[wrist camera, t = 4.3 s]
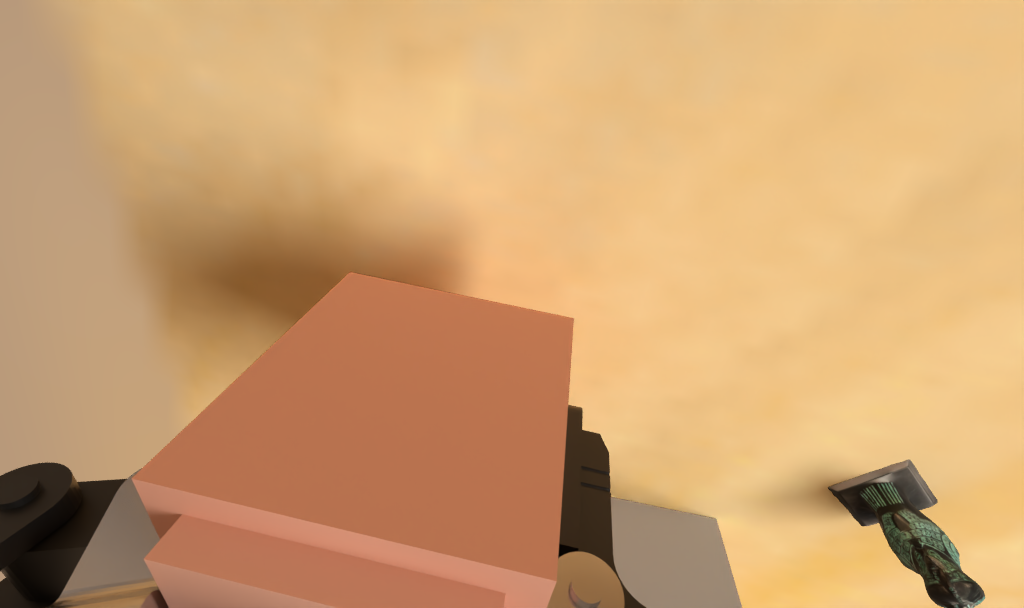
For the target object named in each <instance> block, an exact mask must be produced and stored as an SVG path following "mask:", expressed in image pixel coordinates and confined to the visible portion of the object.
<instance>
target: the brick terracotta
mask: <svg viewBox="0 0 1024 608" xmlns="http://www.w3.org/2000/svg"><path fill="white" fill-rule="evenodd" d="M573 322H574V318H569V317H565V316H560V315H555V314H550V313H545V312H541V311H536V310H531V309H526V308H521V307H516V306H512V305H507V304H502V303H497V302H492V301H488V300H483V299H478V298H473V297H468V296H464V295H459V294H454V293H449V292H444V291H439V290H435V289H430V288H425V287H420V286H415V285H411V284H406V283H401V282H396V281H391V280H386V279H382V278H377V277H372V276H367V275H362V274H358V273H353V272H349V273H348V274H347V275H346V276H345V277H344V278H343V279H342V280H341V281H340V282H339V283H338V284H337V285H336V286H334V287H333V288H332V289H331V290H330V291H329V292H328V293H327V294H326V295H325V296H324V297H323V298H322V299H321V300H320V301H319V302H318V303H316V304H315V305H314V306H313V307H312V308H311V309H310V310H309V311H308V312H307V313H306V314H305V315H304V316H303V317H302V318H301V319H300V320H299V321H297V322H296V323H295V324H294V325H293V326H292V327H291V328H290V329H289V330H288V331H287V332H286V333H285V334H284V335H283V336H282V337H281V338H280V339H278V340H277V341H276V342H275V343H274V344H273V345H272V346H271V347H270V348H269V349H268V350H267V351H266V352H265V353H264V354H263V355H262V356H260V357H259V358H258V359H257V360H256V361H255V362H254V363H253V364H252V365H251V366H250V367H249V368H248V369H247V370H246V371H245V372H244V373H243V374H241V375H240V376H239V377H238V378H237V379H236V380H235V381H234V382H233V383H232V384H231V385H230V386H229V387H228V388H227V389H226V390H225V391H223V392H222V393H221V394H220V395H219V396H218V397H217V398H216V399H215V400H214V401H213V402H212V403H211V404H210V405H209V406H208V407H207V408H206V409H204V410H203V411H202V412H201V413H200V414H199V415H198V416H197V417H196V418H195V419H194V420H193V421H192V422H191V423H190V424H189V425H188V426H187V427H185V428H184V429H183V430H182V431H181V432H180V433H179V434H178V435H177V436H176V437H175V438H174V439H173V440H172V441H171V442H170V443H169V444H167V446H165V447H164V448H163V449H162V450H161V451H160V452H159V453H158V454H157V455H156V456H155V457H154V458H153V459H152V460H151V461H150V462H148V463H147V464H146V465H145V466H144V467H143V468H142V469H141V470H140V471H139V472H138V473H137V474H136V475H135V476H134V477H133V478H132V481H133V483H134V485H135V487H136V489H137V492H138V494H139V496H140V498H141V500H142V502H143V504H144V506H145V509H146V511H147V513H148V515H149V517H150V519H151V521H152V524H153V526H154V528H155V530H156V532H157V534H158V536H159V539H160V541H159V542H158V543H157V544H156V545H155V546H154V547H153V549H152V550H151V551H150V552H149V553H148V554H147V556H146V557H145V558H144V561H145V563H146V565H147V566H148V568H149V570H150V572H151V574H152V576H153V578H154V580H155V582H156V584H157V586H158V588H159V589H160V591H161V593H162V595H163V597H164V599H165V601H166V603H167V605H168V607H169V608H547V606H548V603H549V600H550V598H551V595H552V593H553V590H554V587H555V585H556V582H557V570H558V554H559V539H560V523H561V508H562V492H563V477H564V461H565V446H566V430H567V415H568V399H569V384H570V368H571V353H572V337H573Z"/></svg>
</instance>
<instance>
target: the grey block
mask: <svg viewBox="0 0 1024 608" xmlns="http://www.w3.org/2000/svg"><path fill="white" fill-rule="evenodd" d="M611 514H612V538H613V557H614V564H615V568H616V571H617V573H618V576H619V578H620V580H621V581H622V583H623V585H624V586H625V588H626V589H627V590H628V592H629V593H630V594H631V595H632V596H633V597H634V598H635V599H636V600H637V601H638V602H639V603H641V604H642V605H644V606H645V607H646V608H742V605H741V602H740V599H739V595H738V592H737V588H736V585H735V581H734V578H733V575H732V571H731V568H730V564H729V561H728V557H727V554H726V551H725V547H724V544H723V540H722V537H721V533H720V530H719V527H718V523H717V520H716V519H715V518H710V517H706V516H701V515H696V514H691V513H686V512H681V511H676V510H672V509H667V508H662V507H657V506H652V505H647V504H642V503H638V502H633V501H628V500H623V499H618V498H613V497H611Z"/></svg>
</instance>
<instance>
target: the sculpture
mask: <svg viewBox="0 0 1024 608" xmlns="http://www.w3.org/2000/svg"><path fill="white" fill-rule="evenodd" d="M828 489H829V490H830V491H831V492H832V493H833V495H834V496H836V497H837V498H838V499H839V501H840V502H841V503H842V504H843V505H844V506H845V507H846V508H847V509H848V510H849V512H850V513H851V514H852V516H853V517H854V518H855V519H856V520H857V521H858V522H859V523H860V525H861V526H869V525H873V524H877V523H879V524H880V526H881V528H882V530H883V533H884V535H885V537H886V539H887V541H888V544H889V546H890V547H891V549H892V551H893V552H894V553H895V554H896V556H897V557H898V558H899V560H900V561H901V563H902V564H903V565H904V566H905V567H907V568H909V569H911V570H912V571H914V572H916V573H918V574H920V575H921V576H922V577H923V580H924V583H925V587H926V590H927V593H928V595H929V597H930V598H931V599H932V600H933V601H934V602H935V603H936V604H937V605H939V606H941V607H944V608H974V607H975V606H977V605H978V604H980V603H981V602H982V601H983V600H984V599H985V594H984V591H983V590H982V588H981V587H980V586H979V585H978V584H977V583H976V582H975V581H974V580H972V579H971V578H970V577H968V576H967V575H966V574H965V573H963V571H962V570H961V567H960V561H959V553H958V551H957V549H956V548H955V546H954V545H953V543H952V542H951V541H950V539H949V538H948V537H947V536H946V534H945V533H944V532H943V531H942V530H941V529H940V528H939V527H938V526H937V525H936V524H935V523H933V522H932V521H931V520H930V519H929V518H927V517H926V516H925V515H924V514H922V513H921V512H920V511H919V510H922V509H925V508H929V507H931V506H933V505H935V504H936V503H937V499H936V497H935V496H934V495H933V493H932V492H931V490H930V489H929V488H928V486H927V484H926V483H925V481H924V480H923V478H922V477H921V476H920V474H919V473H918V471H917V469H916V468H915V466H914V465H913V463H912V462H911V461H910V460H906V461H904V462H900V463H896V464H893V465H890V466H887V467H884V468H882V469H879V470H875V471H872V472H869V473H866V474H864V475H861V476H858V477H855V478H852V479H849V480H847V481H844V482H841V483H838V484H835V485H833V486H831V487H828Z"/></svg>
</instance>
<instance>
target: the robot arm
mask: <svg viewBox="0 0 1024 608" xmlns="http://www.w3.org/2000/svg"><path fill="white" fill-rule="evenodd" d="M140 470H141V469H140ZM140 470H138V471H137V472H135V473H134V474H133V475H131V476H130V477H129V478H128V479H120V480H103V481H87V482H77V481H76V480H75V478H74V476H73V474H72V472H71V471H70V470H69V468H67V467H66V466H64V465H61V464H58V463H38V464H33V465H28V466H25V467H21V468H18V469H16V470H13V471H10V472H8V473H6V474H4V475H1V476H0V571H1V572H2V573H3V574H4V575H5V577H6V578H5V579H3V580H2V581H1V582H0V608H169V607H168V605H167V603H166V601H165V599H164V597H163V595H162V593H161V591H160V589H159V588H158V586H157V584H156V582H155V580H154V578H153V576H152V574H151V572H150V570H149V568H148V566H147V565H146V563H145V561H144V558H145V557H146V556H147V554H148V553H149V552H150V551H151V550H152V549H153V547H154V546H155V545H156V544H157V543H158V542H159V541H160V539H159V536H158V534H157V532H156V530H155V528H154V526H153V524H152V521H151V519H150V517H149V515H148V513H147V511H146V509H145V506H144V504H143V502H142V500H141V498H140V496H139V494H138V492H137V489H136V487H135V485H134V483H133V481H132V478H133V477H134V476H135V475H136V474H137V473H138V472H139V471H140ZM609 473H610V467H609V452H608V450H607V448H606V446H605V444H604V442H603V440H602V438H601V436H600V434H598V433H593V432H589V431H584V430H582V408H580V407H576V406H571V405H568V415H567V430H566V446H565V461H564V477H563V492H562V508H561V523H560V539H559V554H558V570H557V582H556V585H555V587H554V590H553V593H552V595H551V598H550V600H549V603H548V606H547V608H646V607H645V606H644V605H642V604H641V603H639V602H638V601H637V600H636V599H635V598H634V597H633V596H632V595H631V594H630V593H629V592H628V590H627V589H626V588H625V586H624V585H623V583H622V581H621V580H620V578H619V576H618V573H617V571H616V568H615V564H614V557H613V538H612V514H611V493H610V476H609Z"/></svg>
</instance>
